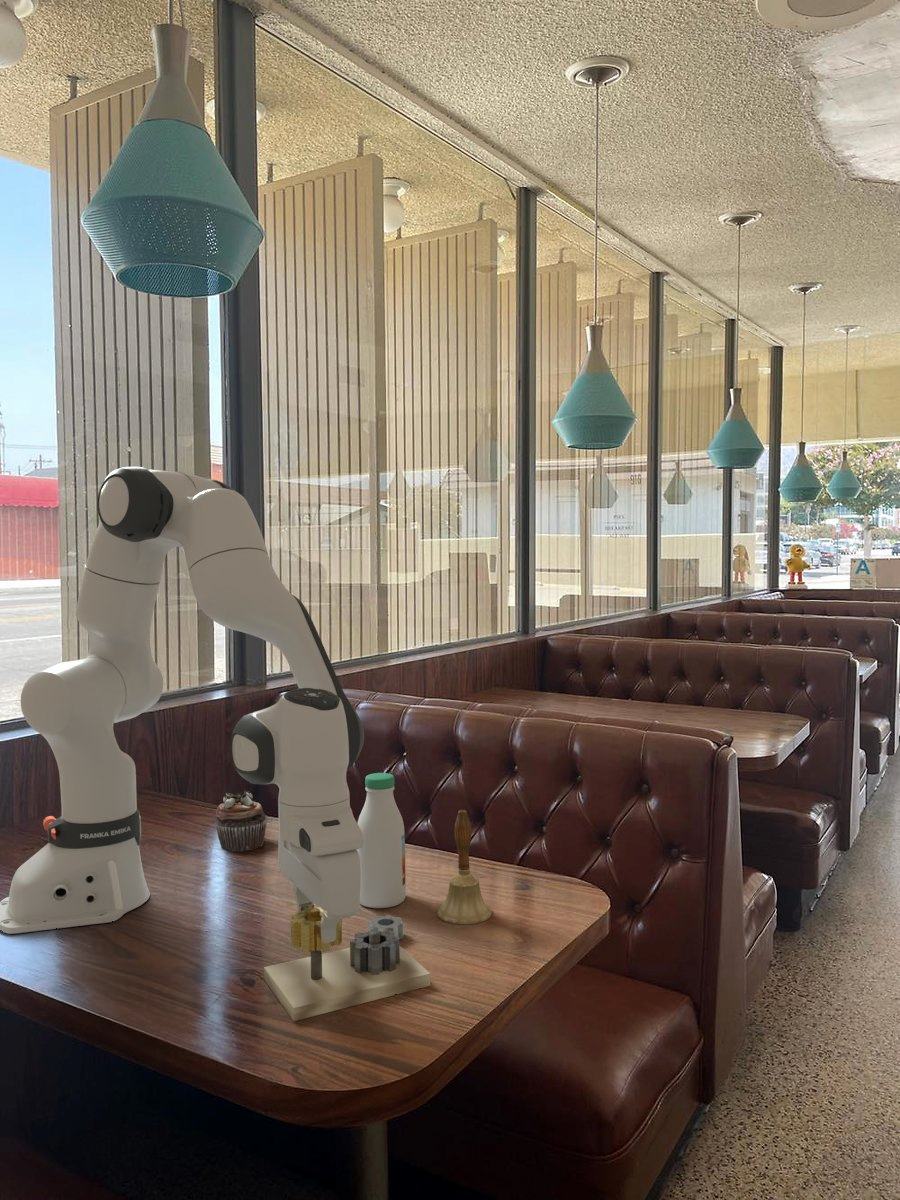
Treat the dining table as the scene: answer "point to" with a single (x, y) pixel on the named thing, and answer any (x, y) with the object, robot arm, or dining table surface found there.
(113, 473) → the robot arm
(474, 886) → the hand bell
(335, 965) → the gear board
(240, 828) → the cupcake
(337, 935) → the brass gear
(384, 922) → the zinc gear
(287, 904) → the dining table surface
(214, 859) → the dining table surface
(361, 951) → the steel gear
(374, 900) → the milk bottle
